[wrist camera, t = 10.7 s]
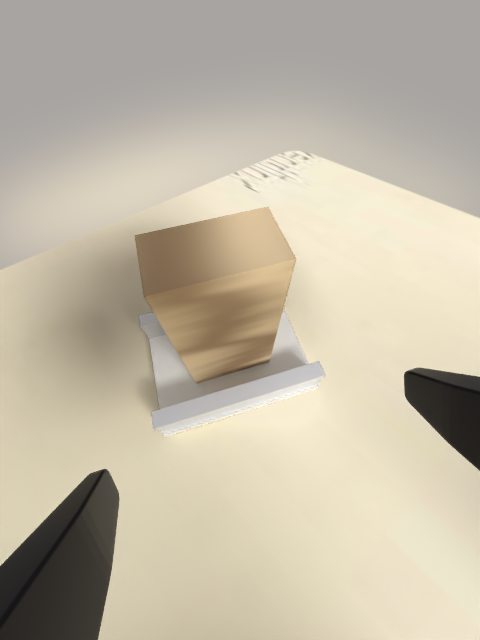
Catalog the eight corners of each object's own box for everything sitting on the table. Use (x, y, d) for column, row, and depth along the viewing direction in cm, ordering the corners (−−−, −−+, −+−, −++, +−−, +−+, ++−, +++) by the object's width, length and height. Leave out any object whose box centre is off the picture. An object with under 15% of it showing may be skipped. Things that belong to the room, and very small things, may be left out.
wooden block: (256, 327, 20) (268, 206, 11) (269, 361, 19) (296, 258, 9) (188, 346, 20) (134, 235, 10) (196, 383, 18) (143, 296, 9)
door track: (275, 297, 23) (279, 277, 20) (316, 389, 19) (327, 378, 16) (150, 330, 21) (138, 313, 19) (166, 436, 17) (153, 432, 15)
